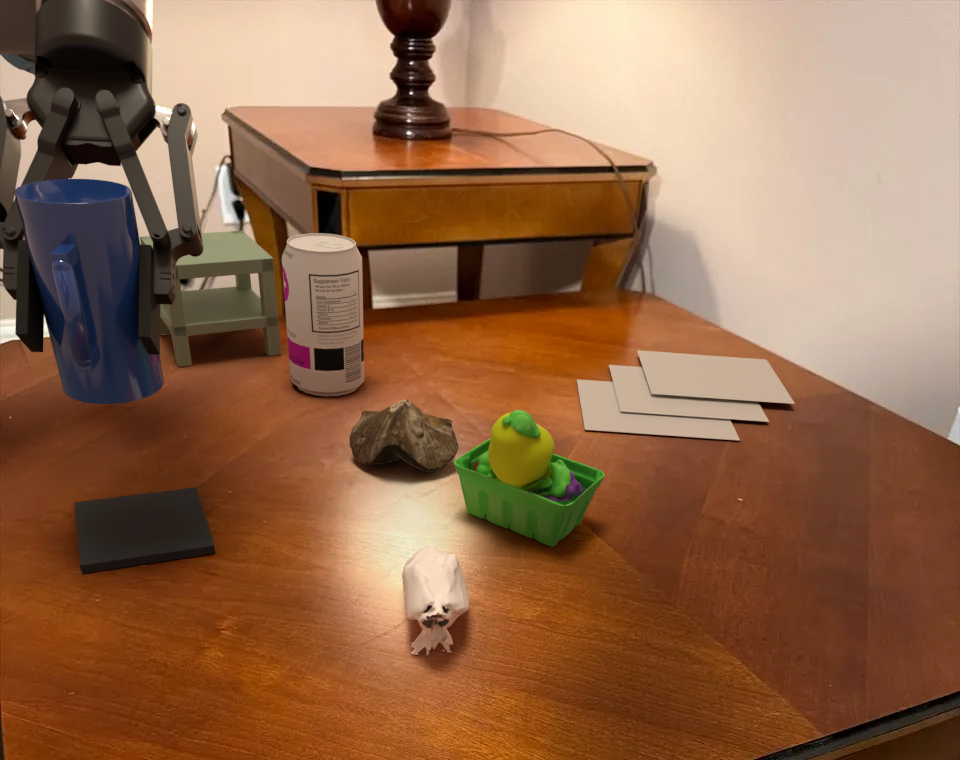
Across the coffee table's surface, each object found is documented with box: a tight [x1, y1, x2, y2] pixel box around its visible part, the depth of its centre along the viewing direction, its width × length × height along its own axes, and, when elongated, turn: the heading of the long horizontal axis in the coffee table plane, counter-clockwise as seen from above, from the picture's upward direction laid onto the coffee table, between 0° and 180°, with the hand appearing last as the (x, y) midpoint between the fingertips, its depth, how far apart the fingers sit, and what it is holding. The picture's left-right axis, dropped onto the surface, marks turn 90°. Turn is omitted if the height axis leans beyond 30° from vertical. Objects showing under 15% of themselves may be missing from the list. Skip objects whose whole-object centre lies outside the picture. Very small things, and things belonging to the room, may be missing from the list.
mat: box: [73, 486, 216, 574], centre depth 71 cm, size 10×10×1 cm
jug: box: [14, 178, 165, 405], centre depth 59 cm, size 10×7×13 cm
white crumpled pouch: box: [401, 545, 470, 656], centre depth 63 cm, size 5×7×10 cm
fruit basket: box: [453, 409, 606, 548], centre depth 73 cm, size 11×9×11 cm
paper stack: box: [576, 349, 796, 441], centre depth 101 cm, size 23×25×1 cm
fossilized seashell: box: [349, 398, 459, 473], centre depth 83 cm, size 8×7×10 cm
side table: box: [139, 230, 282, 368], centre depth 102 cm, size 12×12×11 cm
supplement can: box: [281, 232, 365, 397], centre depth 93 cm, size 8×8×15 cm
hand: (90, 344), depth 58 cm, fingers closed on jug, 7 cm apart
